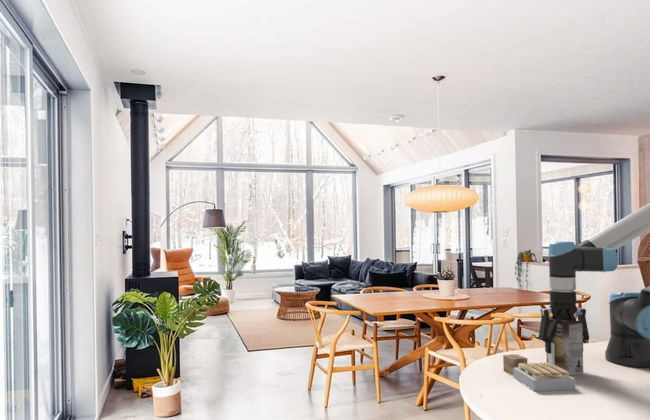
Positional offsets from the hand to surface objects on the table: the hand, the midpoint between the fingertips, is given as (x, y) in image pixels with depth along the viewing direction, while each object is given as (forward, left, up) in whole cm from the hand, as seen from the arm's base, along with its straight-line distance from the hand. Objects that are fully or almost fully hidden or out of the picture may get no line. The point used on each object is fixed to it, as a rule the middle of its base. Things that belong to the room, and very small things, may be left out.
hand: (564, 363), depth 152 cm
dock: (+13, +11, -2) cm, 17 cm away
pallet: (+13, +11, +1) cm, 17 cm away
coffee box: (0, 0, -3) cm, 3 cm away
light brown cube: (+16, 0, -3) cm, 16 cm away
